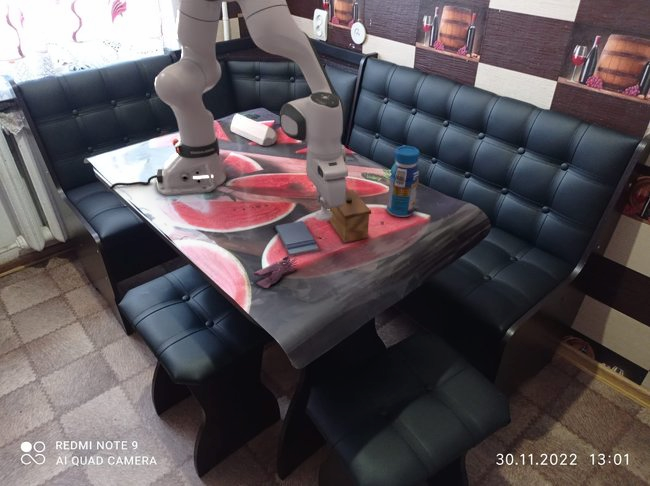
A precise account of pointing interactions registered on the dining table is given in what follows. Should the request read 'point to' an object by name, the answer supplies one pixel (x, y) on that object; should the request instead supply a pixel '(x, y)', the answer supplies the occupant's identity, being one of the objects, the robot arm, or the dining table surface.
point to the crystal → (253, 130)
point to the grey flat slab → (296, 238)
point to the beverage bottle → (403, 182)
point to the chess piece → (323, 213)
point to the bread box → (351, 218)
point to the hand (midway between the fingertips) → (324, 205)
